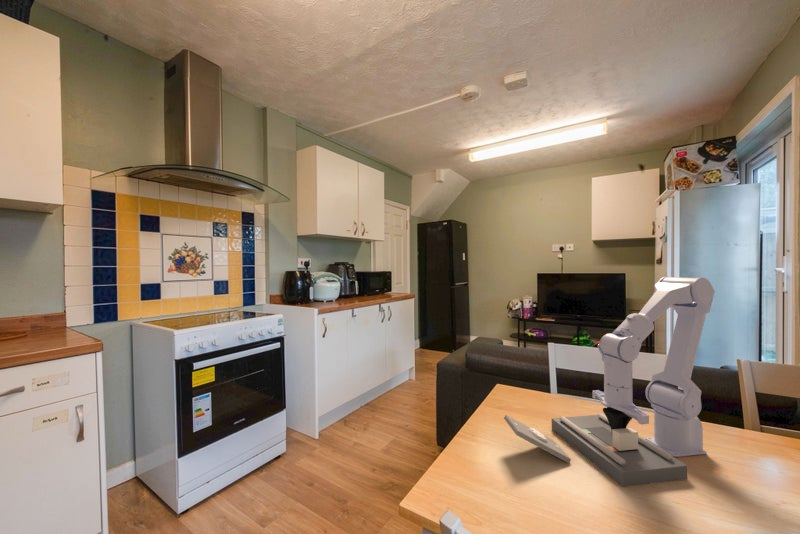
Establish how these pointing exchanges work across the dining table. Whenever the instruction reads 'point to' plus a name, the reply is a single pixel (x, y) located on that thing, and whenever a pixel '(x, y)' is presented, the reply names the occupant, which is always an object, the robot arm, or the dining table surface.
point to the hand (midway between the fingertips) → (618, 439)
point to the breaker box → (620, 454)
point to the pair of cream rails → (607, 450)
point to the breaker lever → (625, 439)
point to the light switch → (536, 438)
